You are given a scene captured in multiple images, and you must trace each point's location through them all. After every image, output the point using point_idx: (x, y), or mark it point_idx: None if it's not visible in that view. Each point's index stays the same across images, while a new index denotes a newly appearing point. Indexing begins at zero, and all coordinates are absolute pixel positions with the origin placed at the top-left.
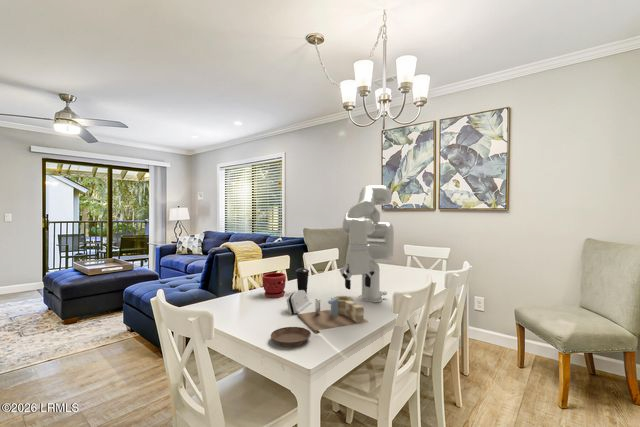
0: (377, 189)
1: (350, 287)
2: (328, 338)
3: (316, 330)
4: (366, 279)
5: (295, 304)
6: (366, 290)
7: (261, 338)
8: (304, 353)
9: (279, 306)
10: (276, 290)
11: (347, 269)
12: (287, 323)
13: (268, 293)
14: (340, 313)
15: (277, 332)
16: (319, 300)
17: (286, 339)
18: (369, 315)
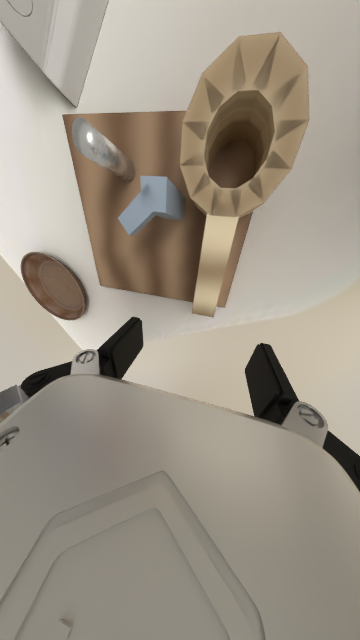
0: None
1: (139, 351)
2: (119, 313)
3: (101, 285)
4: (264, 390)
5: (11, 16)
6: None
7: (15, 253)
8: (81, 330)
9: None
10: None
11: (48, 412)
12: (46, 188)
13: None
14: (198, 208)
15: (32, 259)
16: (91, 157)
17: (55, 282)
18: (288, 252)
